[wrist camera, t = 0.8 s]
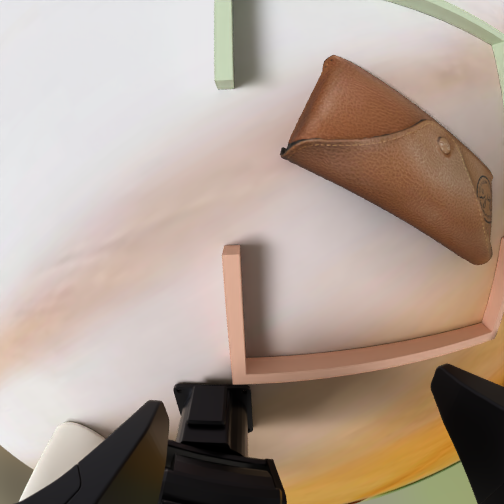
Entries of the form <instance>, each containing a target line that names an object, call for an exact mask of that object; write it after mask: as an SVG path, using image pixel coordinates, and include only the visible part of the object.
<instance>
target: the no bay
mask: <svg viewBox="0 0 504 504" xmlns="http://www.w3.org/2000/svg"><path fill="white" fill-rule="evenodd" d="M222 262H223V276H224V290H225V303H226V315H227V327H228V338H229V349H230V359H231V370H232V379H233V385H234V384H265V383H281V382H294V381H305V380H315V379H324V378H332V377H339V376H347V375H353V374H359V373H365V372H371V371H377V370H382V369H387V368H392V367H397V366H401V365H406V364H410V363H415V362H419V361H423V360H427V359H431V358H435V357H438V356H442V355H445V354H449V353H452V352H456V351H459V350H462V349H465V348H469V347H472V346H475V345H478V344H481V343H483V342H486V341H489V340H492V339H495V336H496V334H497V331H498V328H499V325H500V323H501V320H502V317H503V313H504V238H502V239H501V245H500V251H499V256H498V262H497V267H496V271H495V276H494V280H493V284H492V288H491V292H490V296H489V300H488V303H487V307H486V310H485V313H484V317H483V320H482V323H479V324H475V325H472V326H468V327H464V328H460V329H456V330H452V331H448V332H444V333H440V334H435V335H431V336H426V337H422V338H417V339H412V340H407V341H401V342H396V343H390V344H384V345H378V346H372V347H365V348H358V349H350V350H342V351H334V352H325V353H315V354H304V355H291V356H276V357H256V358H246V350H245V332H244V314H243V295H242V275H241V254H240V245H225V246H224V249H223V253H222Z"/></svg>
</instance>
